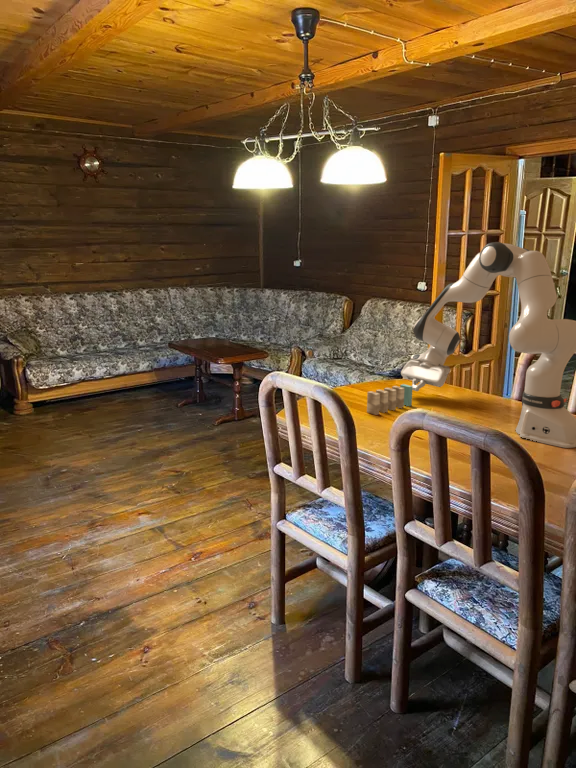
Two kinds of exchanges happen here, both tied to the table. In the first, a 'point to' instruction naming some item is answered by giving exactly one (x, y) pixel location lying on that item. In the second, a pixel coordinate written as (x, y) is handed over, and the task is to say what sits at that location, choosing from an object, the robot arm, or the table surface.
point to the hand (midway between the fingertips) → (414, 389)
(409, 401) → the domino
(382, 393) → the domino
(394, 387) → the domino
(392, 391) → the domino
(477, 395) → the table surface
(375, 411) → the domino
